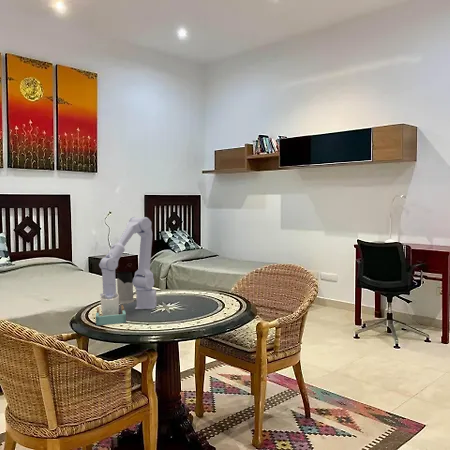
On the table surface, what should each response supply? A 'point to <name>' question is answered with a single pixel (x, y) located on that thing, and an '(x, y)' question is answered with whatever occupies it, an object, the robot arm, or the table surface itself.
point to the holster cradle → (121, 308)
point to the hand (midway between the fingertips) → (110, 313)
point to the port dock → (111, 319)
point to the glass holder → (125, 287)
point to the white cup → (110, 305)
